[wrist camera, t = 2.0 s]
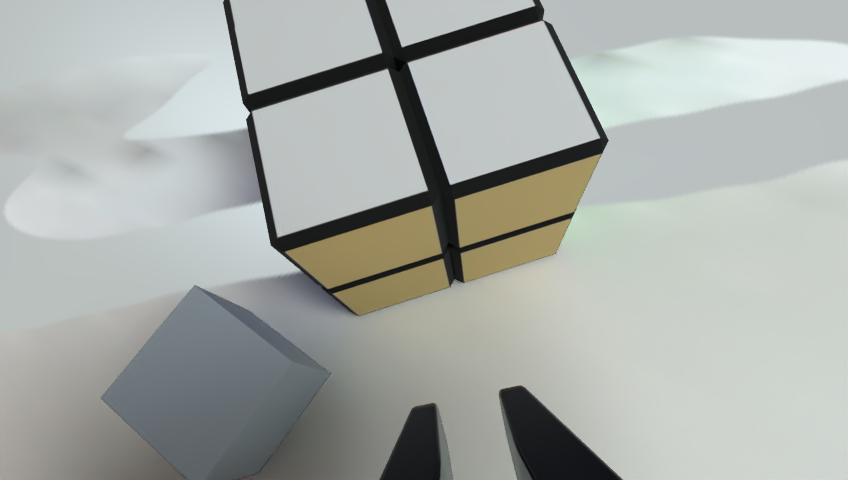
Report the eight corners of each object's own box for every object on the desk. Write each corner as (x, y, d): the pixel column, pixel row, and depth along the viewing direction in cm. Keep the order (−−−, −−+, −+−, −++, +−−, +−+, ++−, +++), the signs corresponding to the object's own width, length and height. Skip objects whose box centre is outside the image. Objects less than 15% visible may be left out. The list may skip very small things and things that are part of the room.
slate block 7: (258, 473, 21) (197, 488, 17) (175, 400, 23) (97, 395, 18) (331, 373, 22) (292, 361, 18) (247, 309, 24) (191, 282, 19)
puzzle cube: (308, 139, 27) (216, -12, 17) (489, 82, 27) (495, -99, 17) (353, 319, 23) (268, 253, 14) (561, 254, 23) (617, 142, 14)
